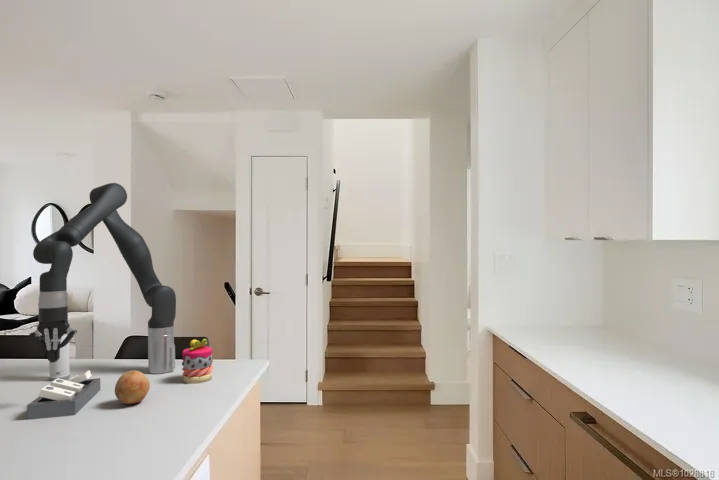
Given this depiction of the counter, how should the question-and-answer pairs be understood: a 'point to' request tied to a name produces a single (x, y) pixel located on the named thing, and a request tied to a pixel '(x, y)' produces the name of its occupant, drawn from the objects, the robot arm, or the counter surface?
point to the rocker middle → (67, 385)
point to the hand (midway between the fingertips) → (53, 361)
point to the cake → (197, 362)
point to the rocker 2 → (80, 377)
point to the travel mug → (61, 363)
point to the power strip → (63, 402)
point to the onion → (132, 387)
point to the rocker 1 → (56, 393)
